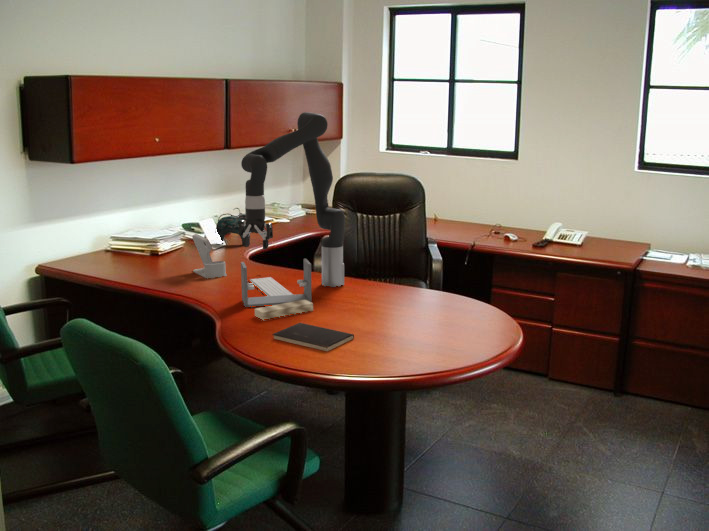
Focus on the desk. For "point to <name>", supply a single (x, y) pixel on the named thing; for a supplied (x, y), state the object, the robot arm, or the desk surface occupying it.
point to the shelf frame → (276, 299)
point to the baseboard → (270, 286)
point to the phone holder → (208, 259)
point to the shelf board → (283, 309)
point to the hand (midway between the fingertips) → (256, 248)
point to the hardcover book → (313, 336)
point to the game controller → (230, 225)
